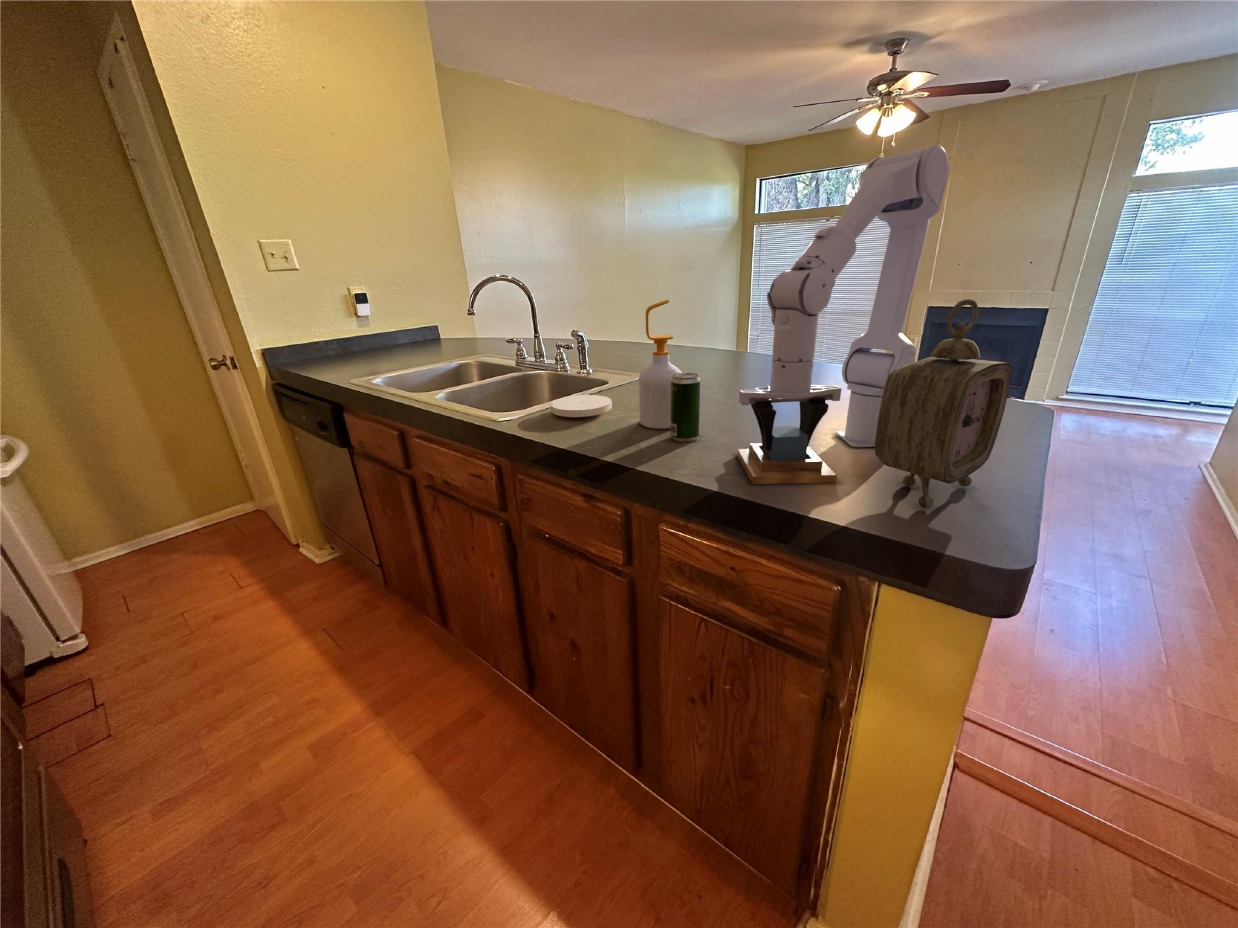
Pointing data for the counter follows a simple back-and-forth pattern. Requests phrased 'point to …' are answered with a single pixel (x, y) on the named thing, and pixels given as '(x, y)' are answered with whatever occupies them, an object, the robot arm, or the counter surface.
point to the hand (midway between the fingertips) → (784, 447)
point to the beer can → (685, 406)
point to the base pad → (784, 467)
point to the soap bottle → (656, 383)
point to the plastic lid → (581, 405)
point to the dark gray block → (787, 444)
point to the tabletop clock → (943, 411)
